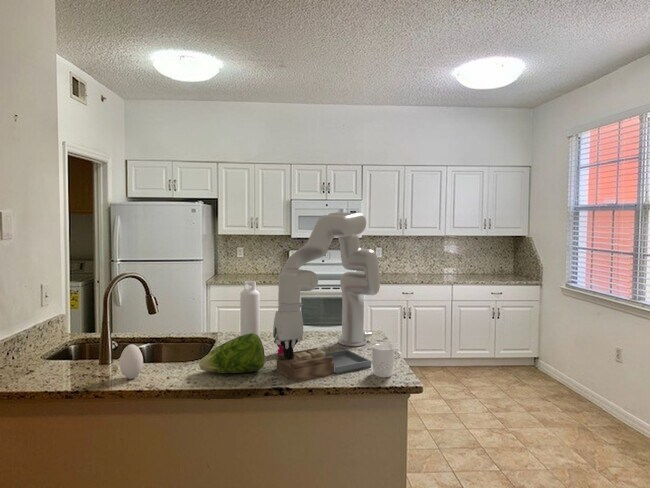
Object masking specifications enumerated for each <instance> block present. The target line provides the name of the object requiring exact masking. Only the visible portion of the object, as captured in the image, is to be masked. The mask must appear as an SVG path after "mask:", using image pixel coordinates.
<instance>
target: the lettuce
mask: <svg viewBox="0 0 650 488" xmlns="http://www.w3.org/2000/svg"><path fill="white" fill-rule="evenodd" d="M265 355H266V354H265V348H264V345H263V341H262V340H261V338H259V336H258V335H257V334H254V333H250V334H245V335H242V336H240V335H239V336H236V337H235V338H232V339H230V340H228V341H226V342H224V343H222V344H220V345H218V346H217V347H215V348H214V349H213V350H211V351H210V352H209V353H208V354H206V355H205V356H204V357H202V358H201V359H200V360H199V361H198V367H199V368H200V370H202V371H204V372H211V373H212V372H213V373H218V374H244V373H245V374H246V373H251V372H257V371H260V370H262V368H263V367H265V362H266V361H265V360H266V357H265Z"/></svg>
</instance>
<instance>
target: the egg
mask: <svg viewBox="0 0 650 488" xmlns="http://www.w3.org/2000/svg"><path fill="white" fill-rule="evenodd" d="M143 366H144V357H143V353H142V352H141V350H140V348H139V346H137V345H135V344H133V343H132V344H128V345H127V346H125V348H124V349H123V351H122V352H121V355H120V358H119V370H120V372H121V374H122V375H123V376H124V377H125V378H126V379H129V380H131V379H132V380H133V379H135V378H137V377H138V376H139V375H140V373H141V372H142V369H143Z"/></svg>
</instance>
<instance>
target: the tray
mask: <svg viewBox="0 0 650 488" xmlns="http://www.w3.org/2000/svg"><path fill="white" fill-rule="evenodd" d="M326 356H332V357H333V362H334V374H335V375H340V374H344V373H349V372H354V371H359V370H364V369H368V368H372V360H371V359H368V358H366V357H364V356H362V355H360V354H357V353H356V352H354V351H352V350H349V349H342V350H336V351H331V352H325V357H326Z"/></svg>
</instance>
